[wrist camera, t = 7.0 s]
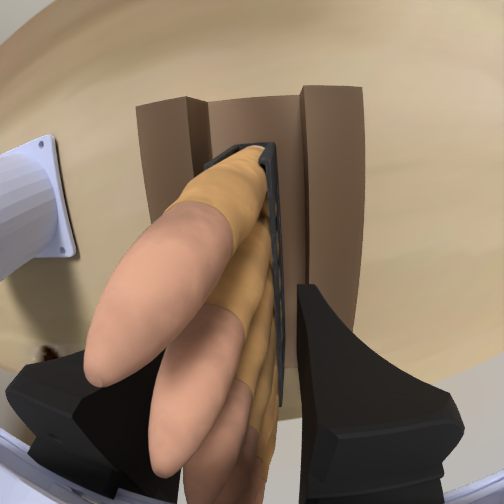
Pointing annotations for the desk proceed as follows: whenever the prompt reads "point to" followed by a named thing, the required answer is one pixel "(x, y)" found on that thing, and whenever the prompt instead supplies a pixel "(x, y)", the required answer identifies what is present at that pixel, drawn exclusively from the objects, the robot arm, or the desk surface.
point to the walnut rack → (289, 175)
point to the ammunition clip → (205, 327)
